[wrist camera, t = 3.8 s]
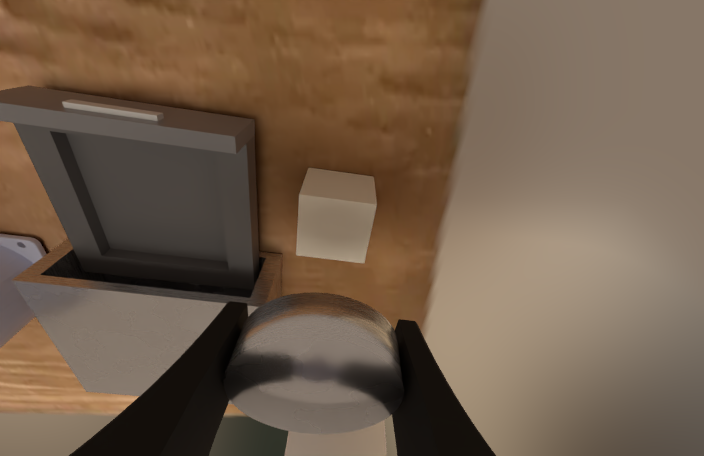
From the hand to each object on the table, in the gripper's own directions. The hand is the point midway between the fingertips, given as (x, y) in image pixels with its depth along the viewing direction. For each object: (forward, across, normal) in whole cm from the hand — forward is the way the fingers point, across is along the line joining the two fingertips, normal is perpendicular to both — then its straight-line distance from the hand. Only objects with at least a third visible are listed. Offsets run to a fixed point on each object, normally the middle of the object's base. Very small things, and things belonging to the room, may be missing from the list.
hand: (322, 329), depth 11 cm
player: (+10, +10, +11) cm, 18 cm away
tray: (+9, +11, +1) cm, 14 cm away
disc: (-1, 0, 0) cm, 1 cm away
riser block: (+10, 0, 0) cm, 10 cm away
